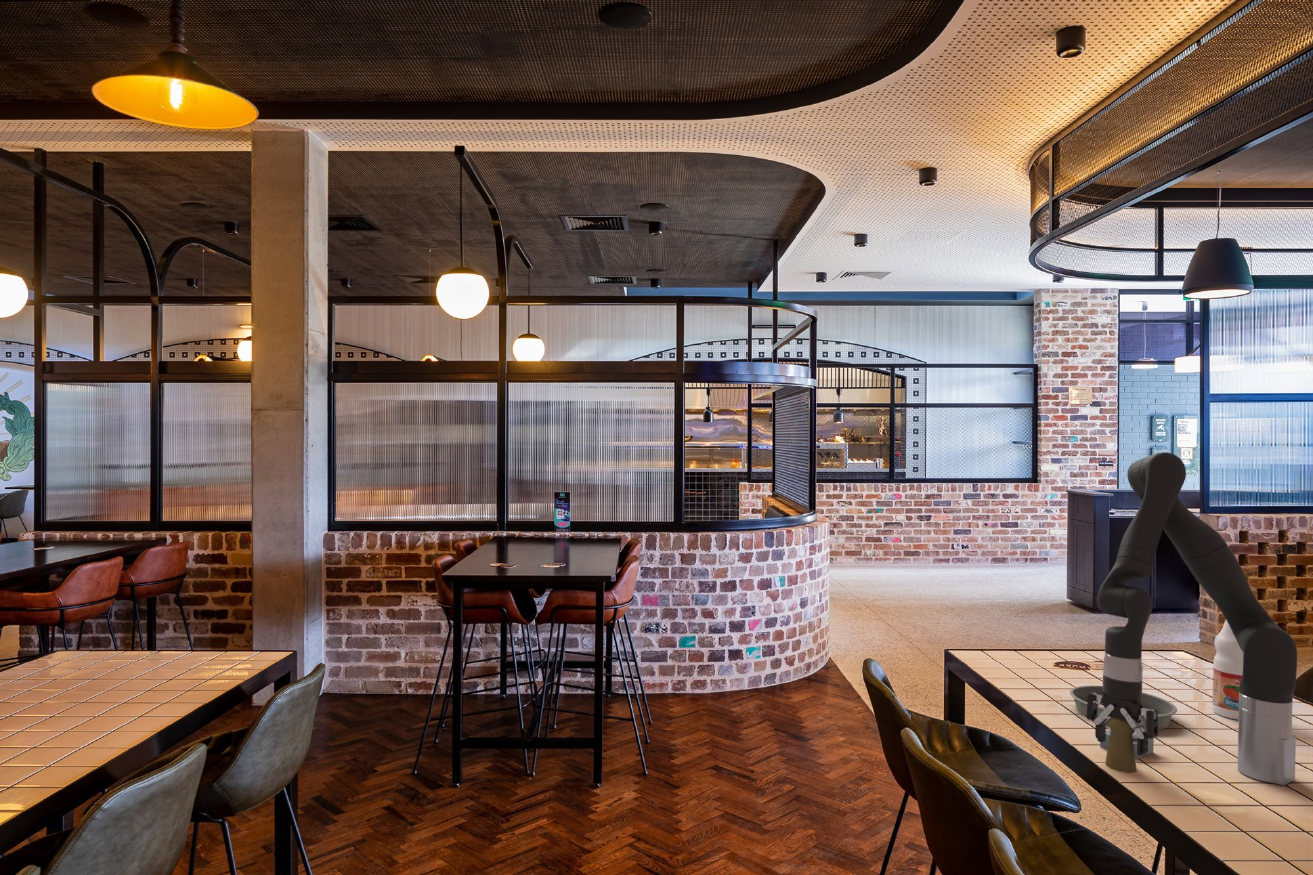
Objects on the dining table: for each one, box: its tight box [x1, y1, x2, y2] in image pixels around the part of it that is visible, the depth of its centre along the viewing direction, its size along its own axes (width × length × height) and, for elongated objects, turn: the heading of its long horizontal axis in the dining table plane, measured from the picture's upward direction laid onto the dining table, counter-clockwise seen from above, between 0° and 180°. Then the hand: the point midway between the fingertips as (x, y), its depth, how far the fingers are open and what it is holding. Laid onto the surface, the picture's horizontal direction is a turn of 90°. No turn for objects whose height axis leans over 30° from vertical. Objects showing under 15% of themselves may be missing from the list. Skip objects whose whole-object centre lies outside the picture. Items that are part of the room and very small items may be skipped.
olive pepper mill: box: [1104, 717, 1137, 774], centre depth 171 cm, size 6×6×11 cm
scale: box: [1099, 727, 1155, 760], centre depth 181 cm, size 8×8×5 cm
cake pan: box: [1069, 685, 1178, 730], centre depth 205 cm, size 25×25×4 cm
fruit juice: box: [1212, 619, 1243, 721], centre depth 207 cm, size 9×9×28 cm
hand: (1120, 747), depth 171 cm, fingers open, 8 cm apart
